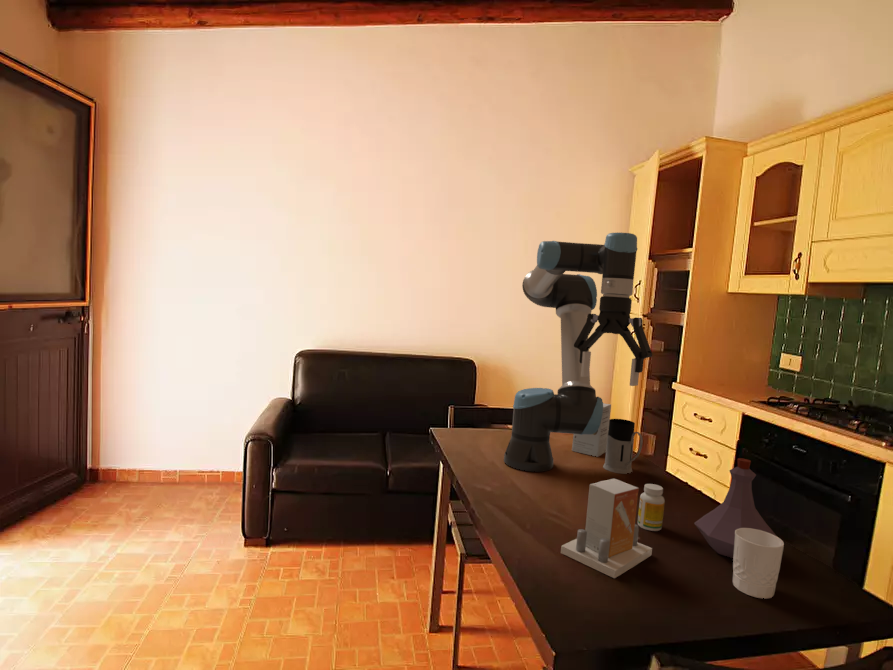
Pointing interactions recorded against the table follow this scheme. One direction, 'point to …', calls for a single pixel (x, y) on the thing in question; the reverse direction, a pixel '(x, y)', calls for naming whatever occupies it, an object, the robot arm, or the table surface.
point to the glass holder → (620, 446)
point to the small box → (611, 515)
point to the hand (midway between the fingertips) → (608, 380)
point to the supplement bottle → (651, 508)
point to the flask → (733, 512)
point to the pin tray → (613, 560)
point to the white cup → (756, 562)
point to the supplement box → (594, 437)
